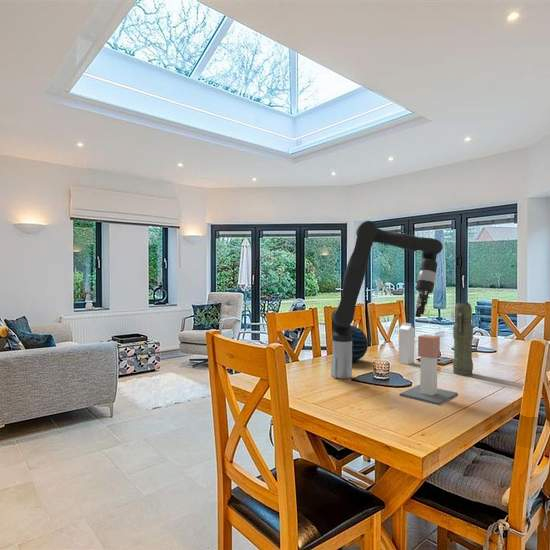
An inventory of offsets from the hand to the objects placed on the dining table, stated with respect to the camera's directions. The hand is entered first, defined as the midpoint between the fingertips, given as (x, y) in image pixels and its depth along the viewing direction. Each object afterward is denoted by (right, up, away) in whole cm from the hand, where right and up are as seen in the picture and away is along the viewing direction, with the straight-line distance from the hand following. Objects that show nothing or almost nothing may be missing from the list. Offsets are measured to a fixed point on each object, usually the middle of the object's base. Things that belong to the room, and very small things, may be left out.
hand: (419, 315), depth 178 cm
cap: (-3, -15, -18) cm, 24 cm away
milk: (+7, -30, +39) cm, 50 cm away
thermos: (+28, -31, +16) cm, 44 cm away
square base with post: (-3, -30, -18) cm, 36 cm away
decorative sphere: (-24, -30, +42) cm, 57 cm away
